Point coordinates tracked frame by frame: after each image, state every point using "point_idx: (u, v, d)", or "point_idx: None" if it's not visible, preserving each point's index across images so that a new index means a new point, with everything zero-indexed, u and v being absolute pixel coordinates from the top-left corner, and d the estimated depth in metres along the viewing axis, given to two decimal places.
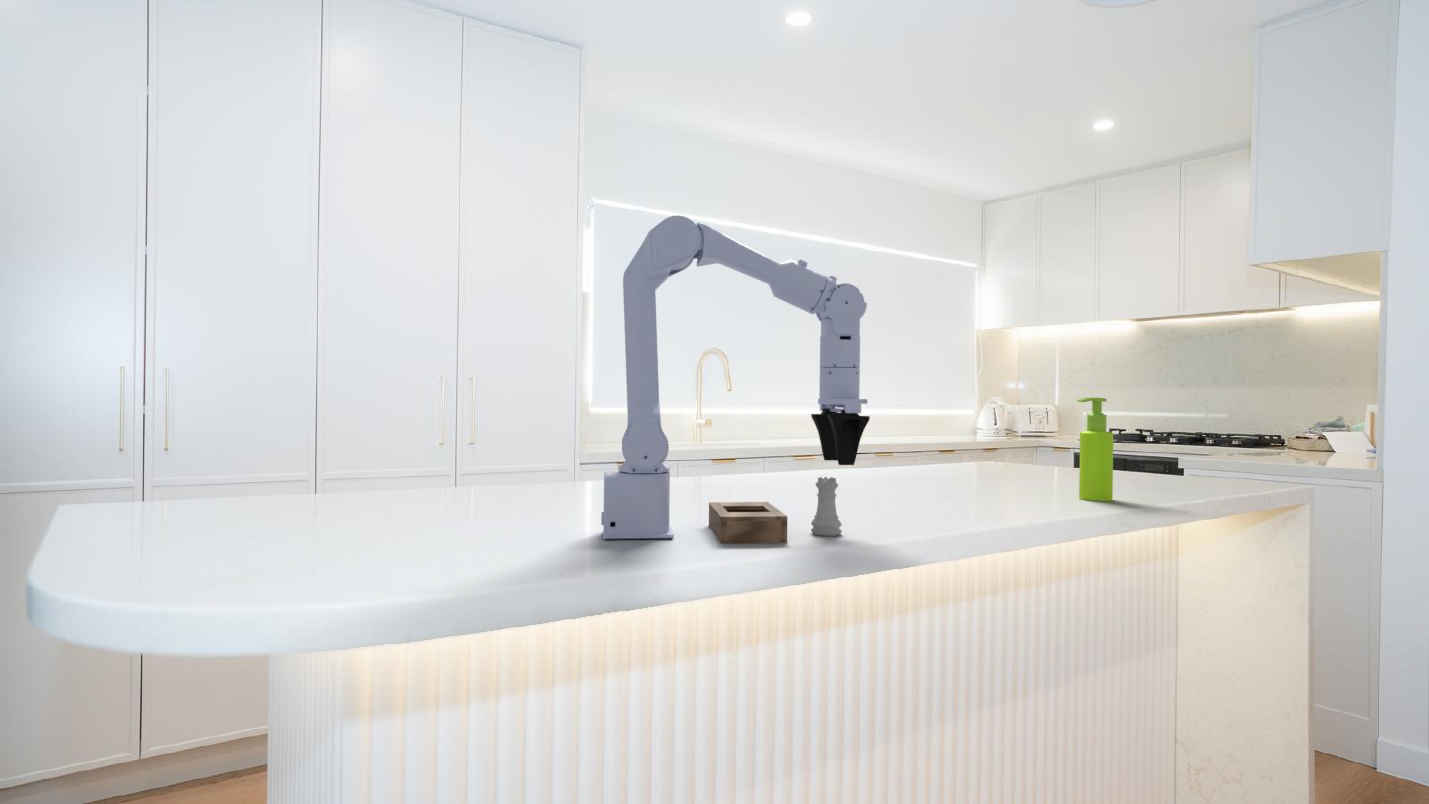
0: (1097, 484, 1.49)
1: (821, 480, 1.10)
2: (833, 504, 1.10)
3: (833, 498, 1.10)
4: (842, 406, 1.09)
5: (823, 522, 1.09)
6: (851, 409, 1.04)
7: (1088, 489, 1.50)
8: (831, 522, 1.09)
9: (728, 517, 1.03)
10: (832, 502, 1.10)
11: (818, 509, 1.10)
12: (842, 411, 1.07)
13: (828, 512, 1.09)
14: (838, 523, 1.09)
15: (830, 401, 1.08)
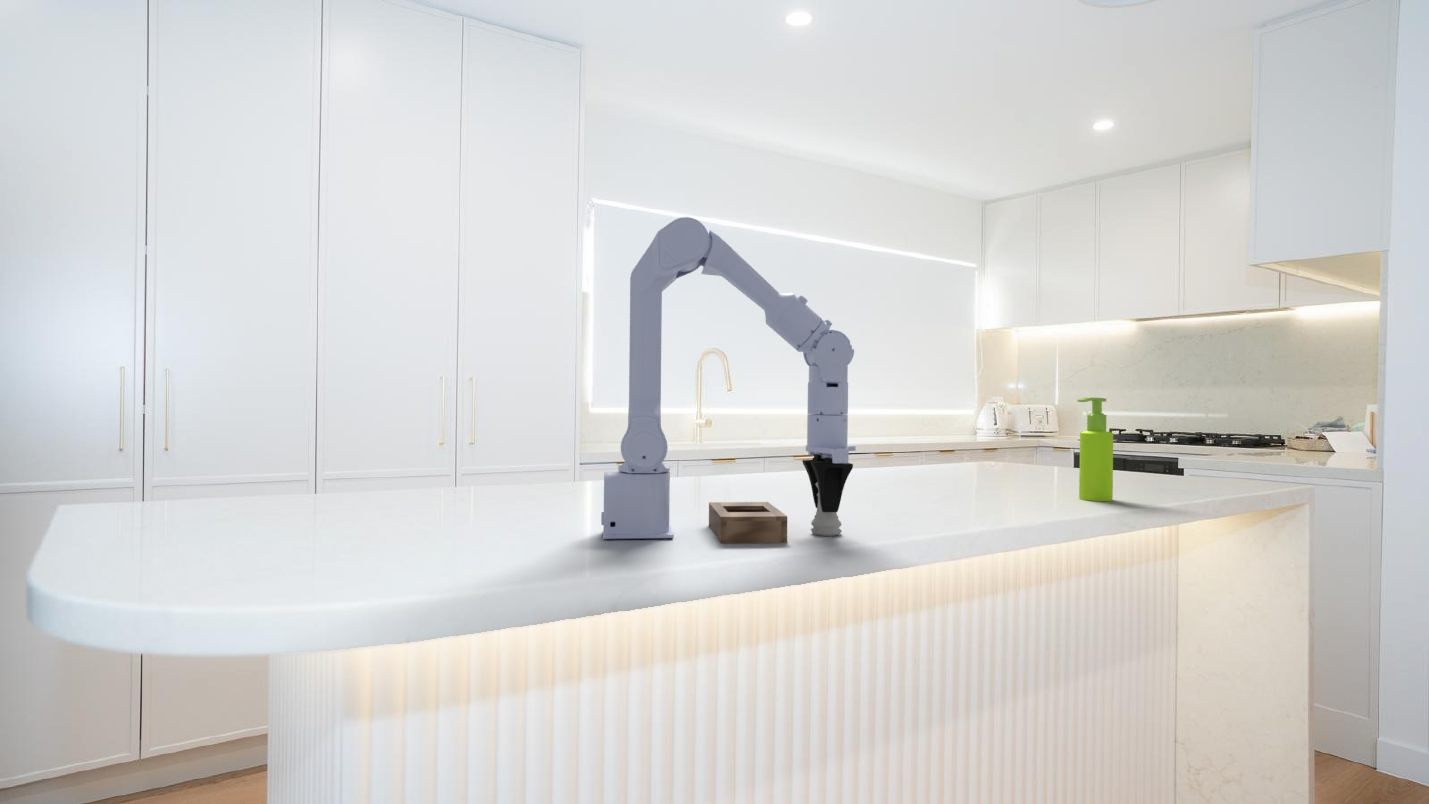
0: (1097, 484, 1.49)
1: None
2: None
3: None
4: (830, 454, 1.07)
5: (823, 521, 1.09)
6: (838, 459, 1.03)
7: (1088, 489, 1.50)
8: (831, 522, 1.09)
9: (728, 517, 1.03)
10: None
11: (818, 509, 1.10)
12: (826, 459, 1.08)
13: (828, 512, 1.09)
14: (838, 523, 1.09)
15: (817, 449, 1.07)
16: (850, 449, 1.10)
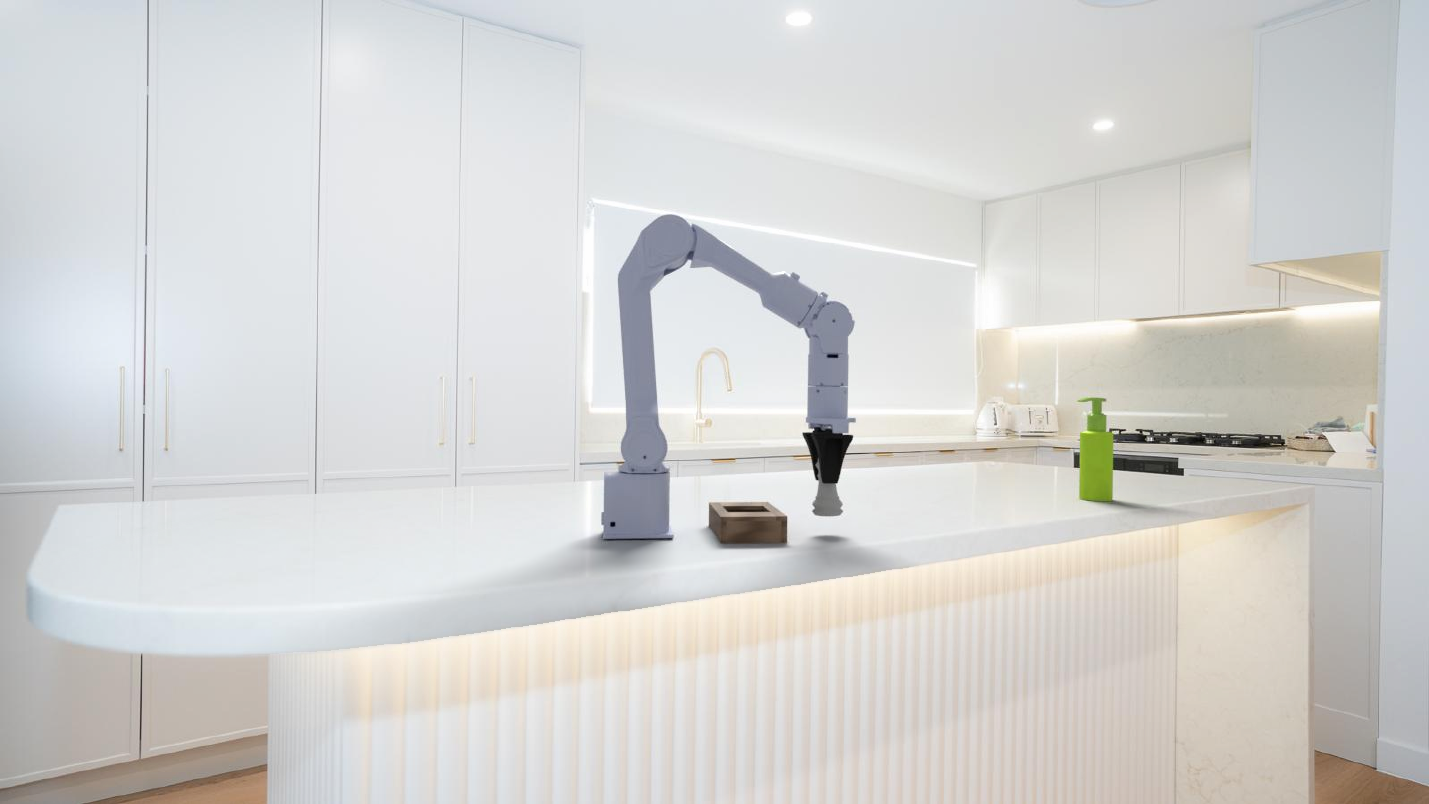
0: (1097, 484, 1.49)
1: None
2: (834, 484, 1.10)
3: None
4: (830, 425, 1.07)
5: (825, 502, 1.09)
6: (838, 429, 1.03)
7: (1088, 489, 1.50)
8: (833, 502, 1.09)
9: (728, 517, 1.03)
10: None
11: (819, 490, 1.10)
12: (826, 430, 1.08)
13: (829, 492, 1.09)
14: (839, 503, 1.09)
15: (818, 420, 1.07)
16: (850, 421, 1.10)
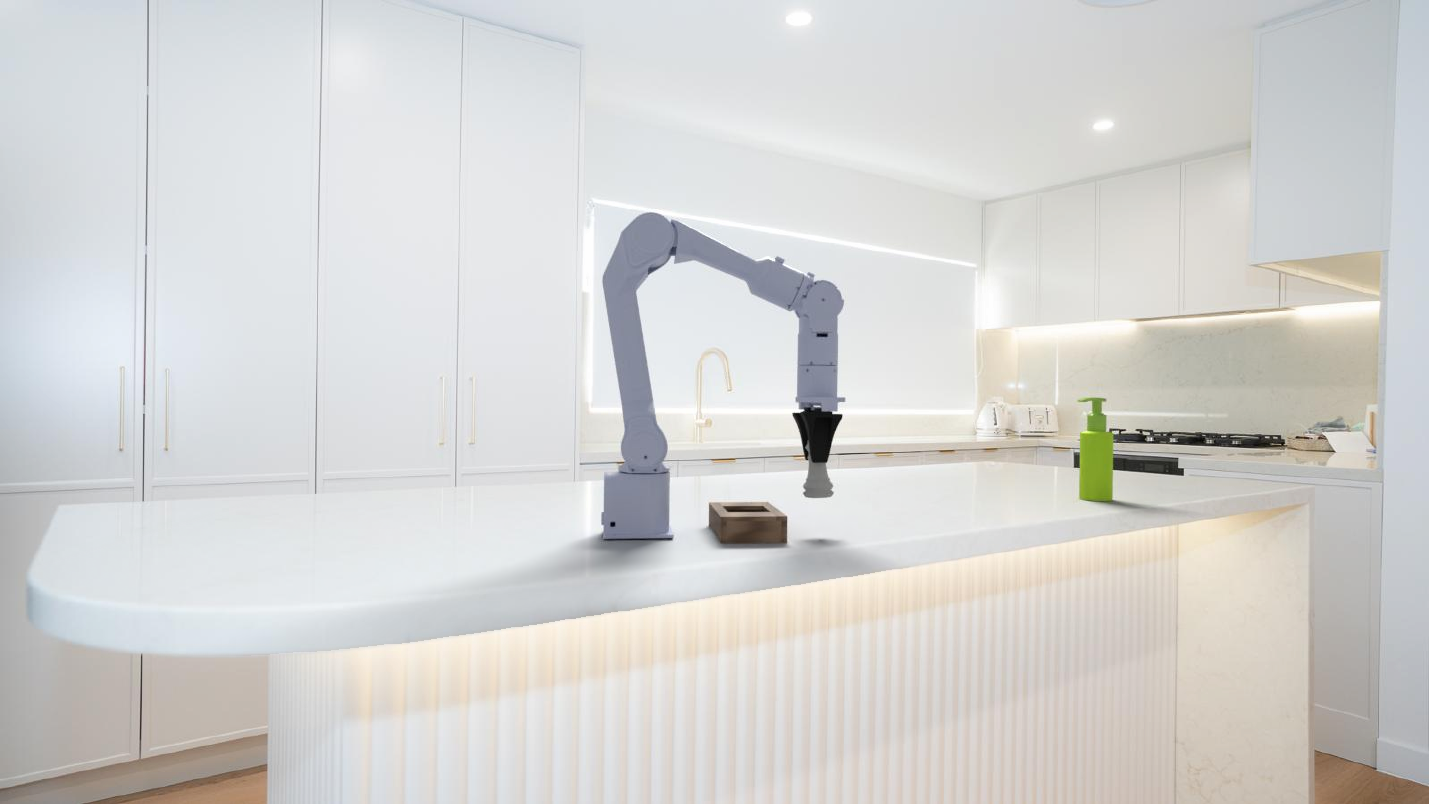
0: (1097, 484, 1.49)
1: None
2: (824, 466, 1.10)
3: None
4: (819, 404, 1.07)
5: (816, 483, 1.09)
6: (827, 407, 1.03)
7: (1088, 489, 1.50)
8: (824, 484, 1.09)
9: (728, 517, 1.03)
10: (823, 464, 1.10)
11: (809, 472, 1.10)
12: (815, 409, 1.08)
13: (820, 474, 1.09)
14: (830, 484, 1.09)
15: (807, 399, 1.07)
16: (840, 400, 1.10)
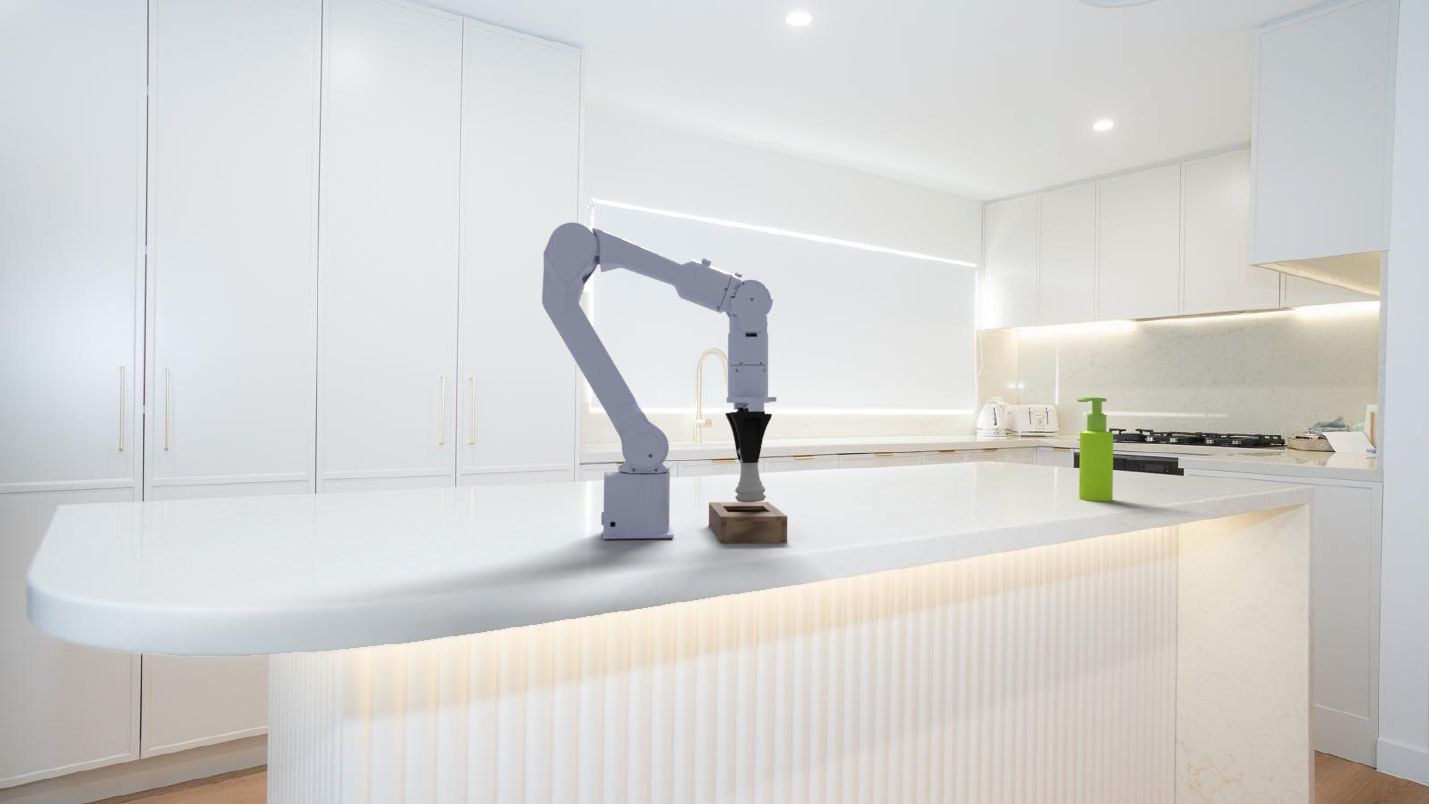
0: (1097, 484, 1.49)
1: None
2: (756, 470, 1.09)
3: (756, 464, 1.09)
4: None
5: (747, 488, 1.08)
6: (754, 408, 1.03)
7: (1088, 489, 1.50)
8: (755, 488, 1.08)
9: (728, 517, 1.03)
10: (755, 468, 1.09)
11: (741, 476, 1.10)
12: (745, 409, 1.07)
13: (751, 478, 1.09)
14: (762, 488, 1.09)
15: (736, 399, 1.07)
16: (770, 400, 1.09)
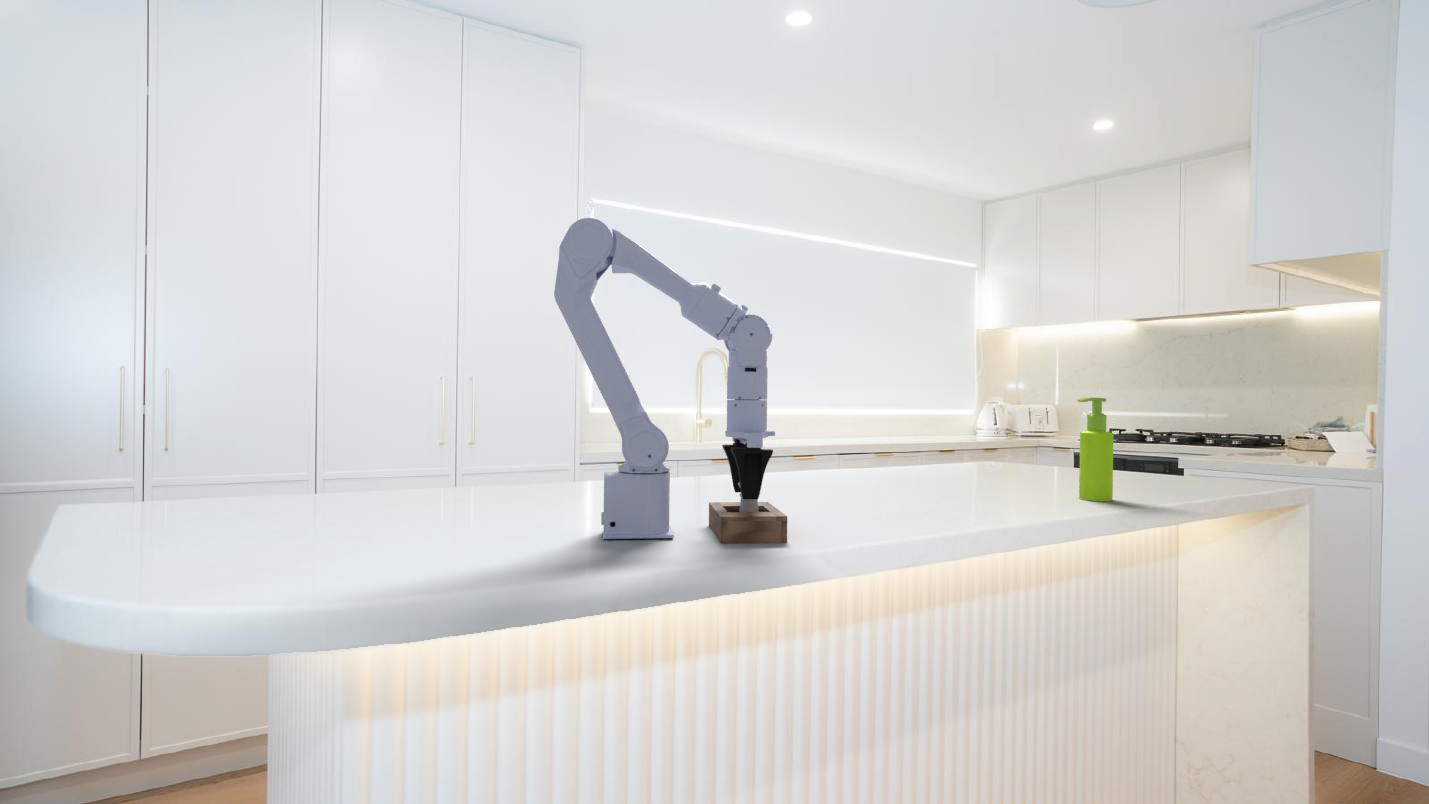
0: (1097, 484, 1.49)
1: None
2: (755, 503, 1.09)
3: None
4: (747, 439, 1.07)
5: None
6: (752, 444, 1.03)
7: (1088, 489, 1.50)
8: None
9: (728, 517, 1.03)
10: (755, 501, 1.09)
11: (741, 509, 1.10)
12: (745, 445, 1.05)
13: (751, 511, 1.09)
14: None
15: (734, 434, 1.07)
16: (769, 434, 1.09)
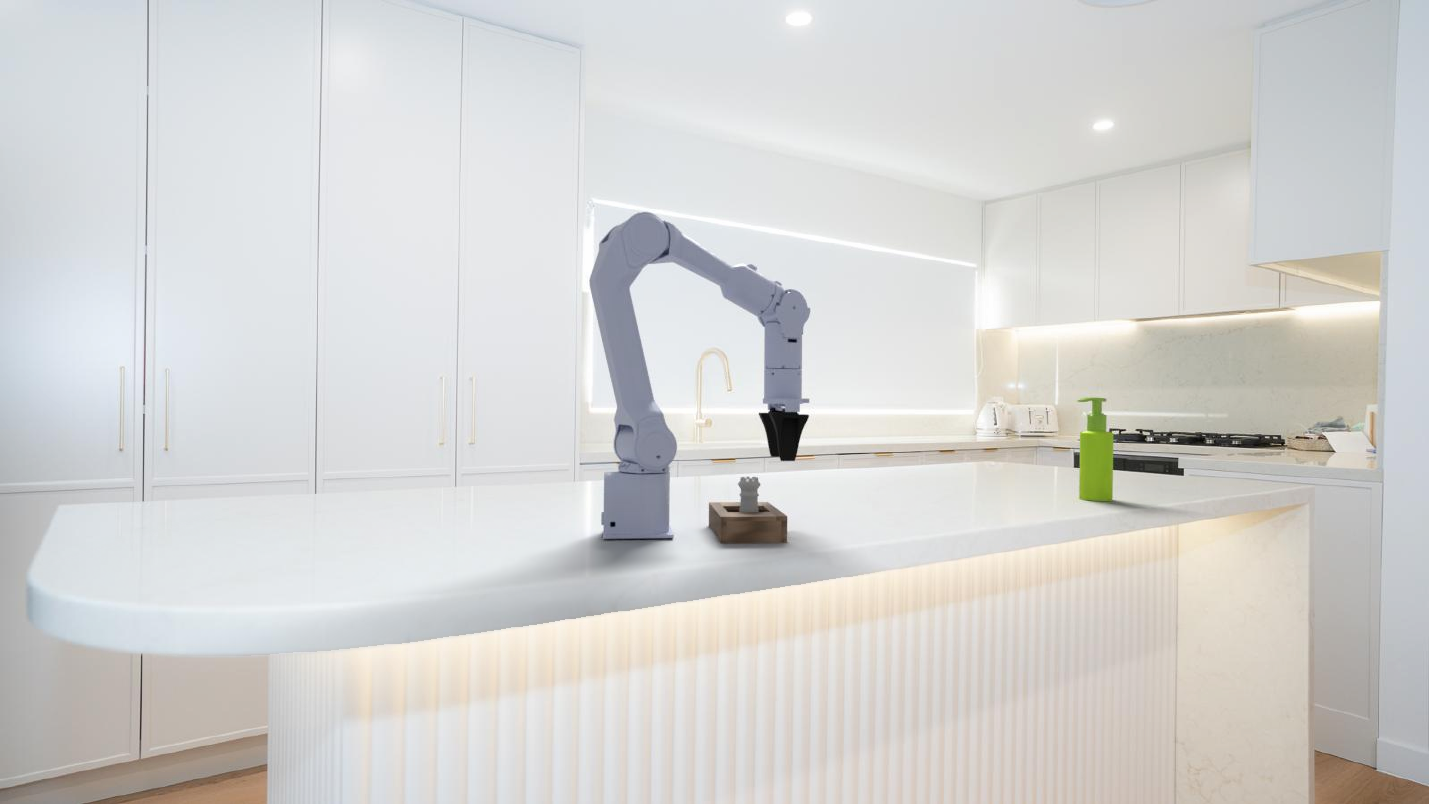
0: (1097, 484, 1.49)
1: (744, 480, 1.09)
2: (755, 503, 1.09)
3: (755, 497, 1.09)
4: (784, 405, 1.15)
5: None
6: (790, 408, 1.11)
7: (1088, 489, 1.50)
8: None
9: (728, 517, 1.03)
10: (755, 501, 1.09)
11: (741, 509, 1.10)
12: (783, 410, 1.13)
13: (751, 511, 1.09)
14: None
15: (772, 400, 1.15)
16: (804, 401, 1.17)
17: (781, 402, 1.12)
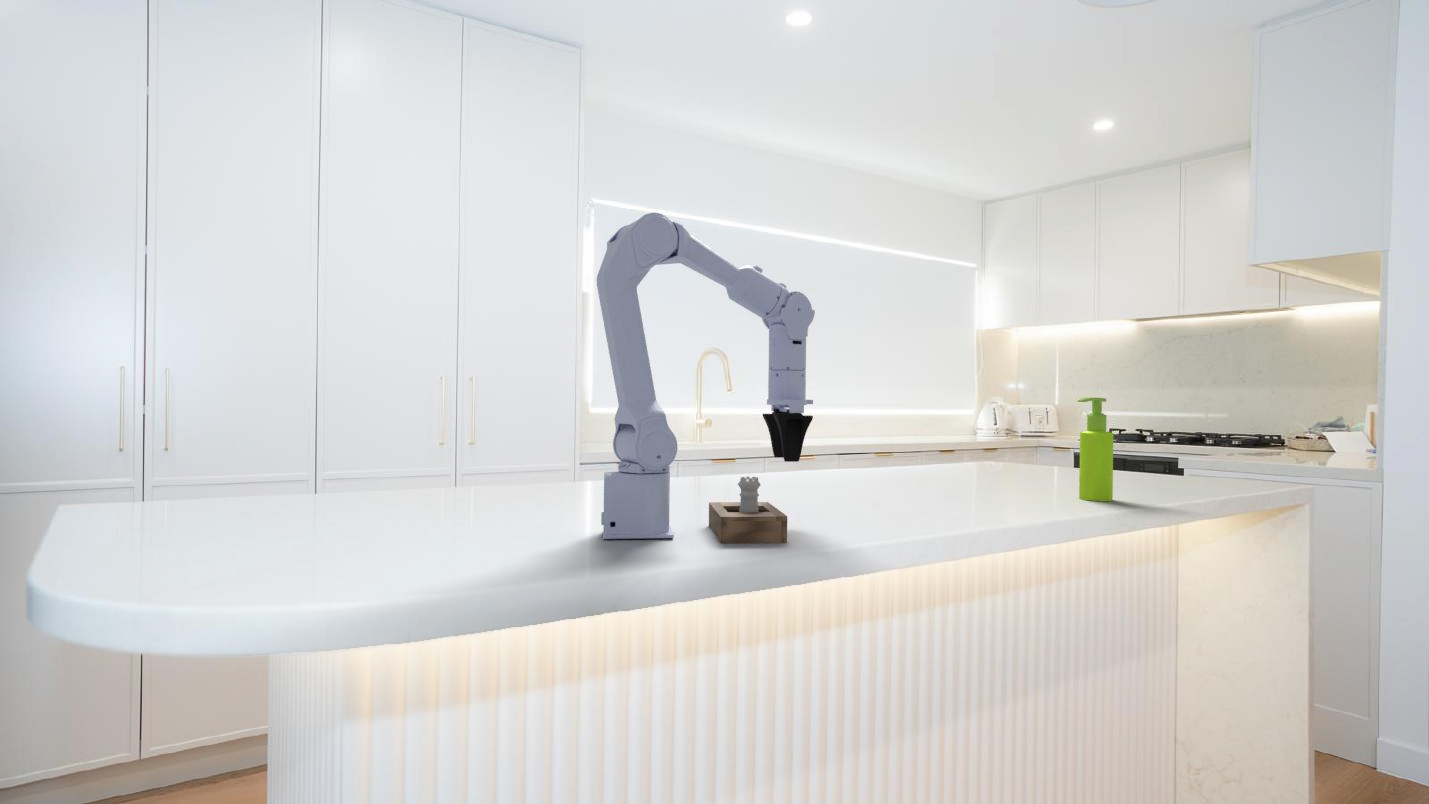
0: (1097, 484, 1.49)
1: (744, 480, 1.09)
2: (755, 503, 1.09)
3: (755, 497, 1.09)
4: (788, 406, 1.16)
5: None
6: (794, 409, 1.12)
7: (1088, 489, 1.50)
8: None
9: (728, 517, 1.03)
10: (755, 501, 1.09)
11: (741, 509, 1.10)
12: (787, 411, 1.14)
13: (751, 511, 1.09)
14: None
15: (777, 402, 1.16)
16: (808, 402, 1.18)
17: (785, 403, 1.13)
